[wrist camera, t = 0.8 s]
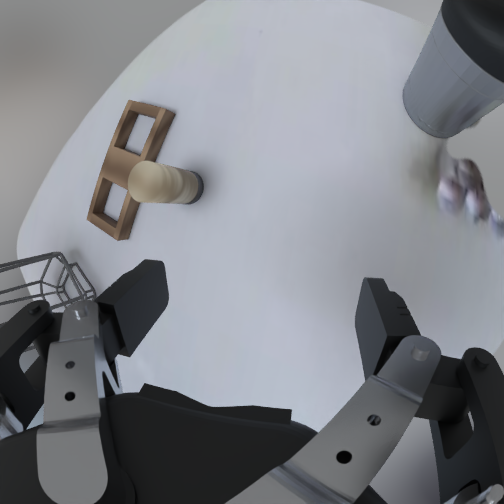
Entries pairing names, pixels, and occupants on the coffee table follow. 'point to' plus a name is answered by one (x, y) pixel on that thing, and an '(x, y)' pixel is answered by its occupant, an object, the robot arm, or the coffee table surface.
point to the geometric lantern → (70, 272)
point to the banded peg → (164, 184)
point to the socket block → (126, 167)
